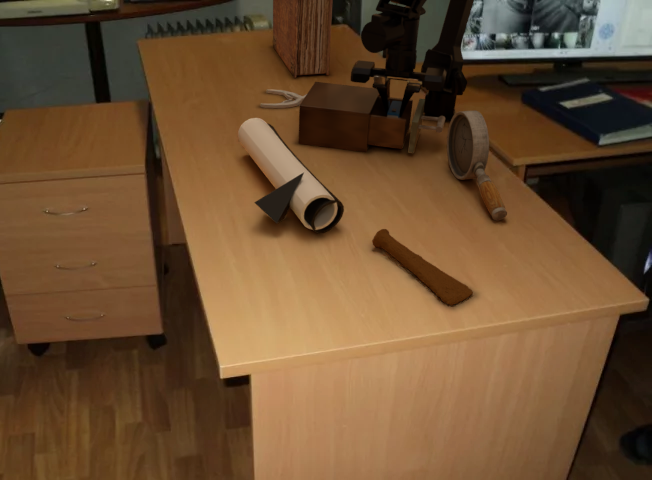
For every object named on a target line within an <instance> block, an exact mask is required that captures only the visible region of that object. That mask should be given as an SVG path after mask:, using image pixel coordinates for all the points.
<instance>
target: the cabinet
mask: <svg viewBox="0 0 652 480" xmlns="http://www.w3.org/2000/svg"><path fill="white" fill-rule="evenodd" d="M306 94H307V95H306V96H305V98H304V99H303V101H302V102H301V104H300V105H299V107H298V108H299V109H298V110H299V111H298V112H299V113H298V115H299V116H298V144H299V145H300V144H301V145H308V146H313V147H314V146H315V147H322V148H328V149H329V148H330V149H338V150H346V151H353V152H361V153H367V152H368V149H369V147H370V145H368V132H369V121H370V114H371V112H372V110H373V108H374V106H375V103H376V101H377V99H378V97H379V96H380V95H379V92H378V90H377V89H376V88H373V87H367V86H358V85H348V84H339V83H331V82H322V81H315V82H314V83H313V84H312V86H311V87H310V89H309V91H308V92H307V93H306Z"/></svg>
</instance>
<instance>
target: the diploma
mask: <svg viewBox="0 0 652 480" xmlns="http://www.w3.org/2000/svg"><path fill="white" fill-rule="evenodd" d="M237 139H238V143H240V145H241V146H242V147H243V148H244V150H245V152H247V154H248V155H249V156H250V158H251V159H252V160H253V162H254V163H255V165H256V166H257V167H258V168H259V169H260V171H261V172H262V173H263V174H264V175H265V177H266V178H267V180H268V181H269V182H270V183H271V185H272V186H273V187H274V190H272V191H271V192H269V193H267V194H265V195H264V196H263V197H260V198H259V199H257V200H256V201H255V202H254V204H255V205H256V206H257V207H258V208H259V209H260V210H261V211H263V212H264V214H266V215H267V216H268V217H269V218H270V219H271V220H272V221H273V222H274V223H275V224H279V223H281V222H282V221H284V220H285V219H286V217H287V215H288V212H289V210H290V209H291V210H292V212H293V213H294V214H295V216H296V217H297V218H298V220H300V222H301V223H302V225H303V226H304V227H305V228H307V229H309V230H313V232H315V233H317V234H324V233H326V232H330V231H331V230H332V229H333V228H335V227H336V225H338V224H339V223H340V221H341V219H342V218H343V215H344V212H345V206H344V204H343V202H342V201H341V200H339V198H338V197H337V196H335V194H333V192H332V191H330V190H329V188H328V187H326V186H325V184H324V183H322V182H321V181H320V179H319V178H317V177H316V175H315V174H314V173H312V172H311V171H310V169H309V168H308V167H307V166H306V165H305V164H304V163H303V162H302V160H300V158H299V157H297V155H296V154H295V153H294V152H293V151H292V150H291V148H290V147H289V146H288V145H287V144H286V142H285V141H284V140H283V139H282V137H281V135H280V134H279V133H278V131H277V130H276V129H275V127H274V126H273V125H271V124H270V123H268V122H267V121H265V120H264V119H262V118H259V117H251V118H248V119H246V120H245V121H243V122H242V124H241V125H240V127H239V128H238V131H237Z"/></svg>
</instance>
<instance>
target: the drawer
mask: <svg viewBox="0 0 652 480" xmlns="http://www.w3.org/2000/svg"><path fill="white" fill-rule="evenodd" d="M402 100H403V98H402V97H401V98H400V97H391V96H390V105H391V103H392V101H401V102H402ZM417 102H418V103H417V105H416V108H415V112H414V114H413V117H412V111H413V104H414V99H410V100H409V102H408V103H407V106H406V108H405V110H404V112H403V114H402V116H401V117H400V118H393V117H387V115H386V112H385V109H384V105H383V102H382V99H381V97H380V96H379V97H378V99H377V101H376V103H375V106H374V108H373V110H372V112H371V114H370V121H369V132H368V145H369V146H377V147H384V148H391V149H399V150H403V148H404V145H405V142H406V139H407V137H408V133H409V130H410V134H409V140H408V141H409V143H408V151H407V153H409V154H415V151H416V147H417V144H418V141H419V138H420V135H421V131H422V130H430V131H435V132H436V133H437V134H441V133H443V130H444V126H445V122H446V121H445V117H444V116H440V117H439V119H438V117H431V116H424V113H423V112H424V105H425V98H419V99H418V101H417ZM411 119H412V120H411ZM423 120H426V121H436V126H433V125H425V124H424V125H423Z"/></svg>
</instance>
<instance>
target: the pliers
mask: <svg viewBox="0 0 652 480" xmlns="http://www.w3.org/2000/svg"><path fill="white" fill-rule="evenodd" d="M265 93H266V94H271V95H272V94H273V95H280V96H283V97H285V98H286V99H285V100H283V101H281V102H276V103H265V102H264V103H263V102H261V103H260V104H259V107H260V108H263V109H265V108H266V109H288V108H295V107H298V106H300V104H301V102H302V101H303V99H304V98H305V96H306V95H307V93H306V94H304V95H300V94H298V93H297V92H293V91H289V90H284V89H273V88H272V89H269V88H268V89H266V90H265Z"/></svg>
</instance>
